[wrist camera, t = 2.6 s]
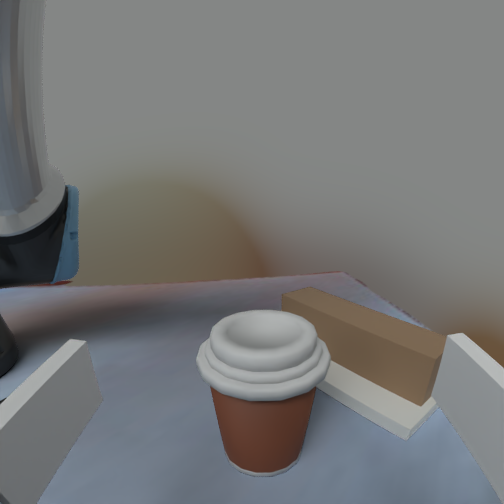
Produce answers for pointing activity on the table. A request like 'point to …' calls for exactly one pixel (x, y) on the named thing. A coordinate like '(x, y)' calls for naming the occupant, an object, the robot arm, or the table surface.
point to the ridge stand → (373, 360)
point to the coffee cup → (263, 386)
